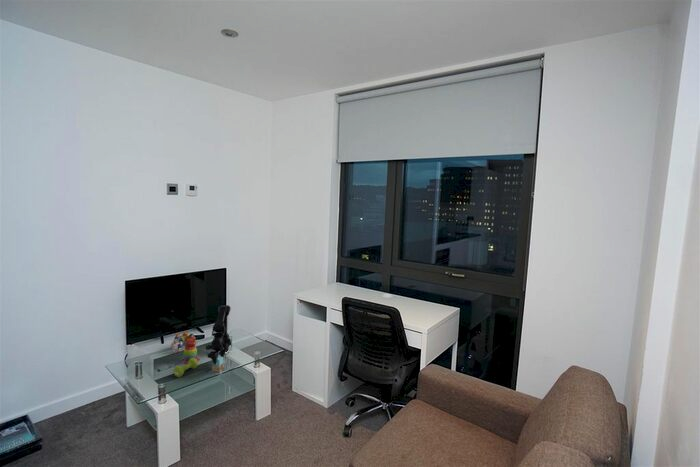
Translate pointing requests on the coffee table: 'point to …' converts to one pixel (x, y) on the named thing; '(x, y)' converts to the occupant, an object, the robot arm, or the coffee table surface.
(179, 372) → the dumbbell
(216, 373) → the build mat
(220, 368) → the walnut brick
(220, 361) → the teal brick
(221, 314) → the robot arm
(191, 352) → the stacking bear
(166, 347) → the coffee table surface
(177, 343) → the doll family
